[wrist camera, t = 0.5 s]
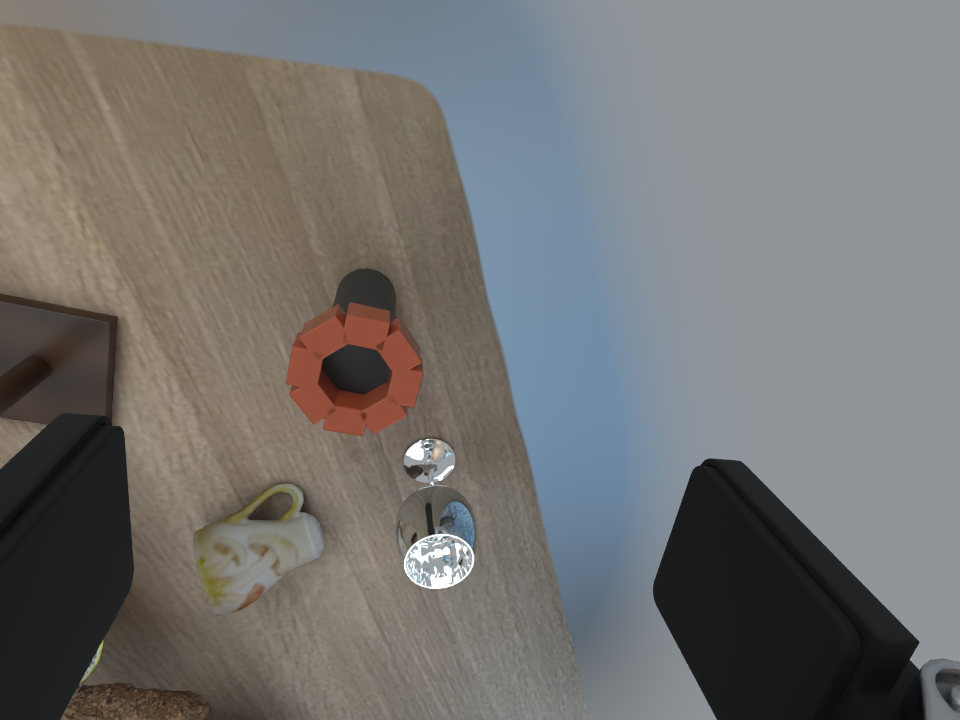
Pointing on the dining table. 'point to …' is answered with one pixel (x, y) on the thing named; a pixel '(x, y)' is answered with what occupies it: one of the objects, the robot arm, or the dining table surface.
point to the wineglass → (435, 520)
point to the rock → (134, 704)
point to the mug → (254, 551)
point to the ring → (348, 407)
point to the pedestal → (355, 363)
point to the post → (54, 360)
